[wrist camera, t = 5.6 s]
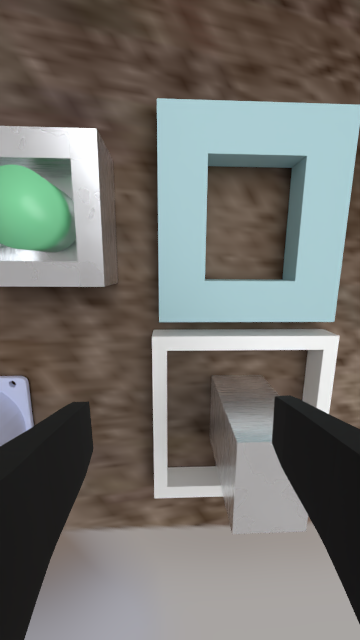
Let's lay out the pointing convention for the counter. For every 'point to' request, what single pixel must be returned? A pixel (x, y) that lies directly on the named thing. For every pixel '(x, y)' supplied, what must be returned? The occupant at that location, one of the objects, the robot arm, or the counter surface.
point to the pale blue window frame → (303, 213)
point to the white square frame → (314, 340)
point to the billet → (251, 457)
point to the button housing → (89, 207)
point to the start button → (34, 212)
